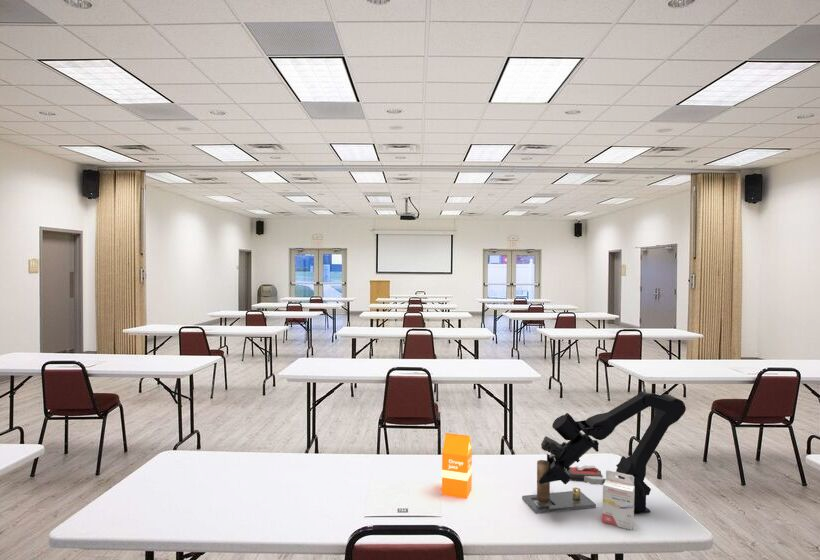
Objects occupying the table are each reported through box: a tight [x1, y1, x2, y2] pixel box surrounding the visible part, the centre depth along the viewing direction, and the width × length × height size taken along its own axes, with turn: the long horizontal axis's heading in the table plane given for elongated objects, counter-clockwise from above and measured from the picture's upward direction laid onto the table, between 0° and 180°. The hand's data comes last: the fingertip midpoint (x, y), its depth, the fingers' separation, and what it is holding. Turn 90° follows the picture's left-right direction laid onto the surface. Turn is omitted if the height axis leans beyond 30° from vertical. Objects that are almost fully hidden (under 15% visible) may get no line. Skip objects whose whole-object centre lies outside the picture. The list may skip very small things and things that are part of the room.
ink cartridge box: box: [601, 469, 635, 531], centre depth 147 cm, size 9×5×15 cm, turn 59°
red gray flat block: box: [568, 464, 606, 485], centre depth 178 cm, size 9×4×20 cm
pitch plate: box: [521, 487, 597, 514], centre depth 159 cm, size 10×21×4 cm, turn 101°
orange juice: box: [441, 432, 473, 499], centre depth 166 cm, size 8×9×20 cm
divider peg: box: [536, 459, 551, 504], centre depth 158 cm, size 4×4×12 cm
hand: (539, 479), depth 158 cm, fingers closed on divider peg, 4 cm apart
